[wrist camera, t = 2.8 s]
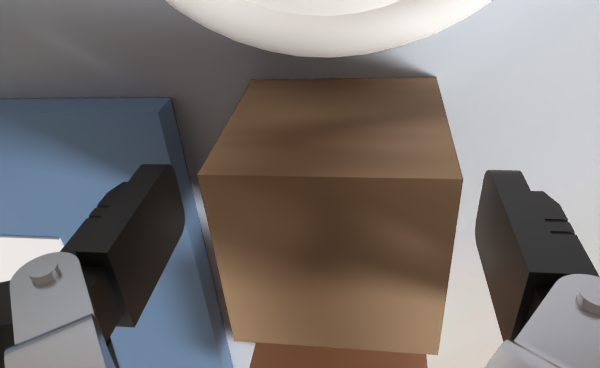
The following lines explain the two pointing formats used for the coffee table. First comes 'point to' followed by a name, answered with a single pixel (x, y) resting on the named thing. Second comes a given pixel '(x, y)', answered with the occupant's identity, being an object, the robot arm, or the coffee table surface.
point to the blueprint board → (85, 197)
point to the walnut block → (335, 212)
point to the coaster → (327, 23)
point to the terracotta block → (330, 357)
